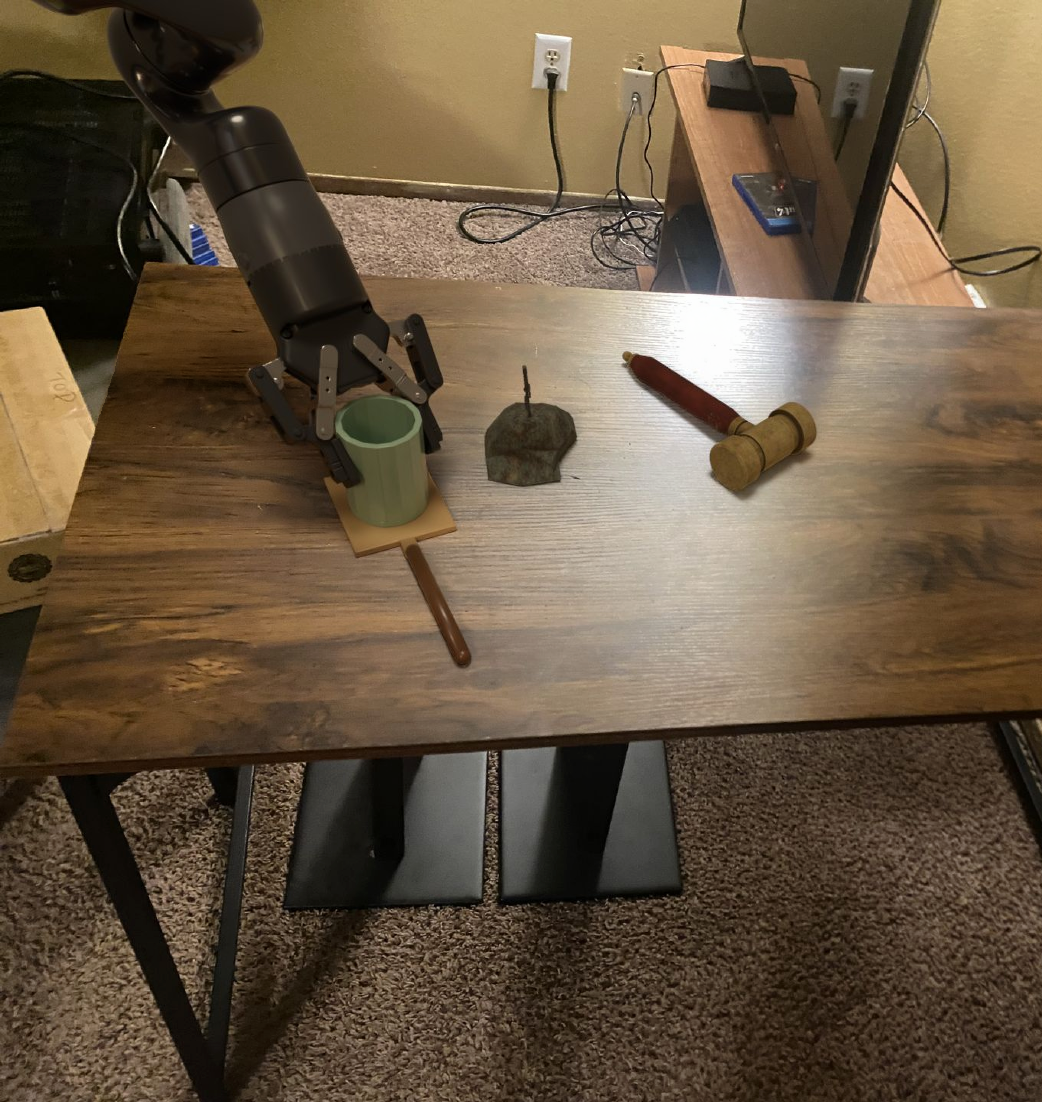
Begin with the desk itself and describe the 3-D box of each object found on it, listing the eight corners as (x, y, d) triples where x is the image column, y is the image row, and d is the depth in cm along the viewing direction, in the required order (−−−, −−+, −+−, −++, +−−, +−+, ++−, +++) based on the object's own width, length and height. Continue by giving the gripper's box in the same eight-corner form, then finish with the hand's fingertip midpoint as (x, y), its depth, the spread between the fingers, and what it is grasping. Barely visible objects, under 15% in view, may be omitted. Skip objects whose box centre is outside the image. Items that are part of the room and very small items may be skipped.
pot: (339, 523, 78) (324, 442, 72) (359, 470, 83) (346, 389, 76) (419, 531, 79) (411, 452, 73) (435, 478, 83) (428, 399, 77)
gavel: (585, 351, 94) (661, 317, 100) (585, 391, 97) (658, 356, 103) (748, 460, 85) (821, 415, 91) (742, 500, 88) (813, 454, 94)
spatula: (324, 482, 82) (322, 472, 81) (420, 460, 85) (419, 449, 84) (410, 685, 70) (409, 675, 69) (518, 649, 74) (518, 639, 73)
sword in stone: (498, 405, 92) (495, 294, 83) (582, 420, 92) (589, 310, 84) (469, 478, 85) (464, 364, 76) (561, 493, 85) (566, 382, 77)
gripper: (369, 249, 80) (458, 442, 84) (187, 300, 72) (293, 510, 76) (398, 220, 74) (492, 429, 78) (203, 272, 66) (318, 501, 70)
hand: (394, 468), depth 77 cm, fingers closed on pot, 6 cm apart
